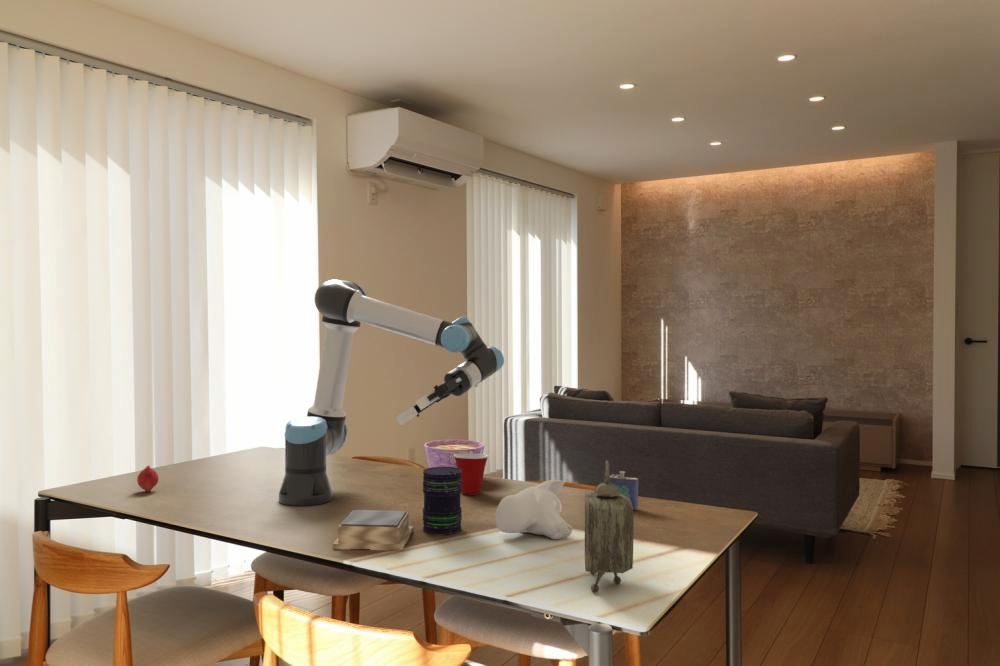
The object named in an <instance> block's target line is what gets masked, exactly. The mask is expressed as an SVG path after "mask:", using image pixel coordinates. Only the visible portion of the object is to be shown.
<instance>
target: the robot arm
mask: <svg viewBox="0 0 1000 666" xmlns="http://www.w3.org/2000/svg"><path fill="white" fill-rule="evenodd" d="M314 305H315V307H316V309H317V311H318V312H319V314H321V315H322V317H321V324H323V326H324V327H325V333H324V338H323V344H322V351H321V357H320V363H319V370H318V376H317V383H316V390H315V396H314V402H313V405H312V406H310V407H309V408H307V414H306V416H302V417H296V418H293V419H291V420H289V421H288V422H287V423H286V425H285V432H284V438H285V439H284V442H285V443H284V457H285V458H284V459H285V460H284V461H285V462H284V470H285V471H284V477H283V480H282V483H281V486H280V489H279V492H278V503H280V504H282V505H285V506H286V505H287V506H296V507H297V506H299V507H300V506H301V507H304V506H307V507H308V506H315V505H316V506H317V505H321V504H326V503H329V502H331V501H332V500H333V489H332V486H331V482H330V480H329V476H328V474H327V456H329V455H333V454H334V453H336V452H337V451H339V450H340V449H341V448H342V447H343V446H344V444H345V443H346V440H347V439H348V427H347V424H346V418H347V414H346V412H345V411H344V409H343V405H344V399H345V394H346V393H345V391H346V386H347V379H348V372H349V368H350V367H349V366H350V359H351V353H352V349H353V348H352V347H353V341H354V335H355V332H356V331H358V330H359V329H360V328H361V323H362V324H364V325H368V326H372V327H374V328H377V329H378V328H379V329H381V330H384V331H389V332H391V333H395V334H397V335H402V336H405V337H408V338H411V339H414V340H417V341H421V342H424V343H427V344H430V345H433V346H437V347H439V348H442V349H445V350H447V351H449V352H451V353H460V354H461V355H462V356H463V358H464V359H465V361H464V362H462V363H461V364H459V365H457V366H456V367H455V368H453V369H451V370H450V371H448V372H447V373H445V375H444V377H443V382H442V383H441V384H440V385H437V384H436V385H434V386H433V390H431V391H430V392H429V393H426V394H425V395H423V396H422V397H419V399H417V400H416V401H415V405H413V406H411V407H410V408H408V409H407V410H405V411H403V412H402V413H400V414H399V415H397V416H396V417H395V420H396V421H397V423H398V424H399V426H403V425H404V424H406V423H407V422H408V421H410V420H411V419H414V418H415V417H417V418H419V417H420V414H421V413H422V412H424V411H425V410H426V409H428V408H429V407H431V406H432V405H433V404H436V403H439V402H441V401H442V400H444V399H446V398H448V397H449V396H451V395H453V396H456V397H460V396H462V395H464V394H465V393H467V392H468V391H469V390H471V389H472V388H478V386H479V384H480V383H482V382H483V381H485V380H486V379H488V378H490V377H491V376H493V375H494V374H496V373H497V372H498V371H499V370H501V369H502V368H503V366H504V364H505V357H504V355H503V353H502V352H501V350H500V349H498V348H497V347H495V346H493V345H492V346H487V344H486V343H485V342H484V340H483V339H482V338H481V336H480V334H479V333H478V331H477V330H476V328H475V327H474V326H473V323H472V322H470V320H469V318H468V317H466V316H465V315H463V316H462V315H461V317H458V318H457V319H455V320H453V321H452V322H451V321H447V320H443V319H440V318H437V317H435V316H434V317H433V316H431V315H427V314H424V313H421V312H418V311H415V310H411V309H408V308H406V307H402V306H399V305H395V304H392V303H388V302H386V301H382V300H379V299H375V298H372V297H370V296H368V295H367V292H366V291H365V289H364V288H363V286H360V285H359V284H358V283H356V282H354V281H350V280H341V279H340V280H339V279H330V280H327V281H324V282H322V283H321V284H320V285H319V287H318V288H317V289H316V291H315V294H314Z"/></svg>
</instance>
